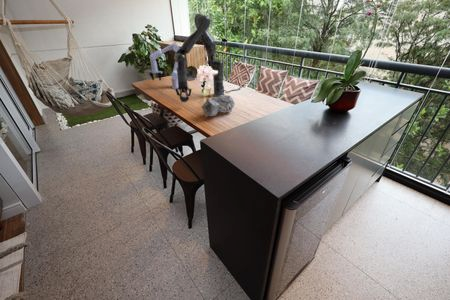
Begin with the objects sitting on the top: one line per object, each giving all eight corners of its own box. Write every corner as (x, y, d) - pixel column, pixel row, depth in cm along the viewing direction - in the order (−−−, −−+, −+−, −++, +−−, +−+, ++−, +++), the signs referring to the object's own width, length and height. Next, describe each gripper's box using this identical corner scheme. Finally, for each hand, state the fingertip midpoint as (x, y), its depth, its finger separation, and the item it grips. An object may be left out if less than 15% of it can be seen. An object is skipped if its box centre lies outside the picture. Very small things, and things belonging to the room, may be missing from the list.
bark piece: (202, 74, 255) (191, 66, 272) (199, 69, 248) (187, 61, 265) (192, 85, 255) (181, 76, 272) (188, 81, 249) (177, 72, 266)
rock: (218, 115, 147) (243, 104, 163) (206, 95, 147) (232, 87, 164) (208, 125, 160) (232, 114, 177) (197, 107, 161) (222, 98, 177)
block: (181, 101, 172) (180, 97, 170) (182, 99, 176) (182, 95, 174) (186, 102, 172) (185, 97, 169) (187, 100, 175) (187, 95, 173)
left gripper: (145, 67, 207) (148, 81, 215) (159, 67, 206) (161, 81, 213) (148, 66, 213) (151, 79, 221) (162, 66, 212) (164, 79, 219)
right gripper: (172, 81, 162) (175, 101, 171) (189, 81, 160) (191, 102, 170) (175, 78, 168) (177, 98, 177) (192, 79, 166) (193, 99, 176)
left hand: (156, 80), depth 217 cm, fingers open, 7 cm apart
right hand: (184, 100), depth 173 cm, fingers closed on block, 4 cm apart
